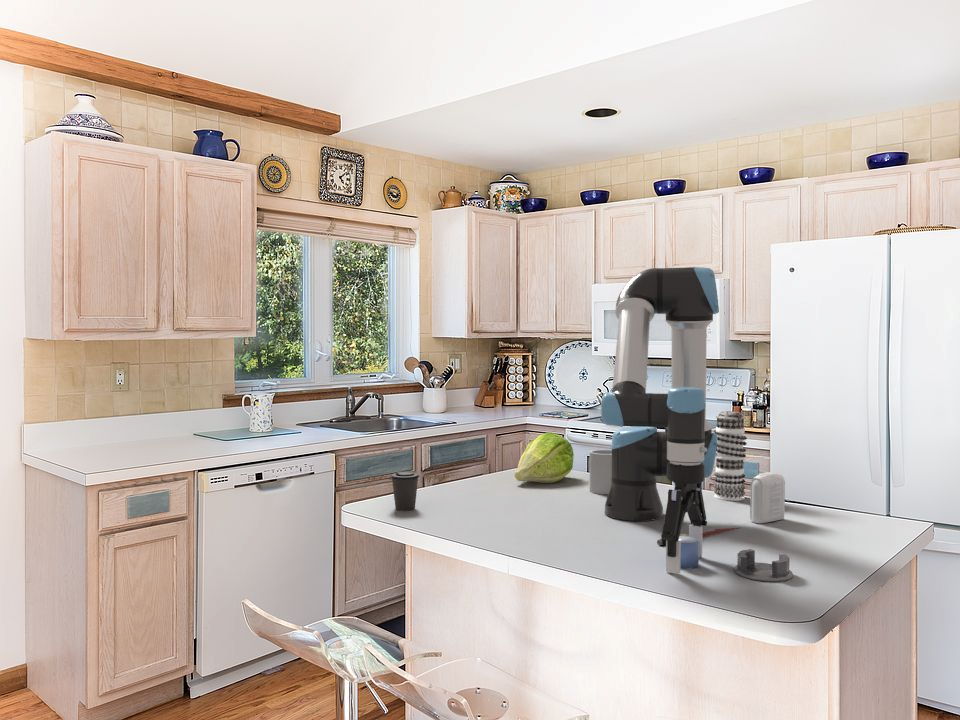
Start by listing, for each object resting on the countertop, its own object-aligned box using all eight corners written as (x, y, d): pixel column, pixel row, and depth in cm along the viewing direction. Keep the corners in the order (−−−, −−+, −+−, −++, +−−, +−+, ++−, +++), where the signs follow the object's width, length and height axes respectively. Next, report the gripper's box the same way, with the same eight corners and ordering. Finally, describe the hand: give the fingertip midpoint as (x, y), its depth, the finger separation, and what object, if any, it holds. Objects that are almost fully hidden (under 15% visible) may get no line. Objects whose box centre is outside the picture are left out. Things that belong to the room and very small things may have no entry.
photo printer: (772, 516, 201) (773, 469, 201) (787, 519, 197) (787, 471, 197) (747, 521, 195) (747, 473, 195) (761, 525, 192) (762, 476, 191)
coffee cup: (385, 510, 208) (384, 473, 208) (399, 504, 216) (398, 468, 216) (411, 512, 205) (411, 475, 205) (425, 506, 213) (424, 470, 213)
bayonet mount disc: (727, 575, 152) (727, 558, 152) (742, 561, 161) (742, 545, 161) (785, 585, 146) (785, 567, 146) (798, 570, 155) (798, 553, 155)
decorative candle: (706, 495, 226) (706, 411, 225) (730, 493, 230) (731, 410, 229) (727, 502, 218) (728, 414, 217) (752, 499, 221) (753, 412, 220)
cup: (622, 494, 228) (622, 454, 228) (591, 494, 228) (591, 454, 228) (617, 488, 237) (617, 449, 237) (587, 488, 237) (587, 449, 237)
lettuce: (541, 501, 237) (505, 497, 248) (588, 467, 253) (552, 465, 265) (528, 456, 234) (492, 455, 245) (577, 425, 250) (541, 425, 262)
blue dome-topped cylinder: (667, 565, 159) (667, 539, 159) (676, 559, 163) (676, 534, 163) (693, 570, 156) (693, 544, 155) (702, 563, 160) (702, 537, 160)
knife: (646, 544, 176) (662, 547, 172) (645, 536, 177) (662, 539, 172) (727, 530, 193) (744, 532, 189) (727, 523, 193) (744, 525, 189)
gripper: (682, 472, 146) (681, 582, 147) (721, 456, 167) (720, 552, 168) (645, 468, 150) (644, 576, 151) (688, 453, 171) (687, 547, 172)
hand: (684, 564), depth 159 cm, fingers open, 13 cm apart
